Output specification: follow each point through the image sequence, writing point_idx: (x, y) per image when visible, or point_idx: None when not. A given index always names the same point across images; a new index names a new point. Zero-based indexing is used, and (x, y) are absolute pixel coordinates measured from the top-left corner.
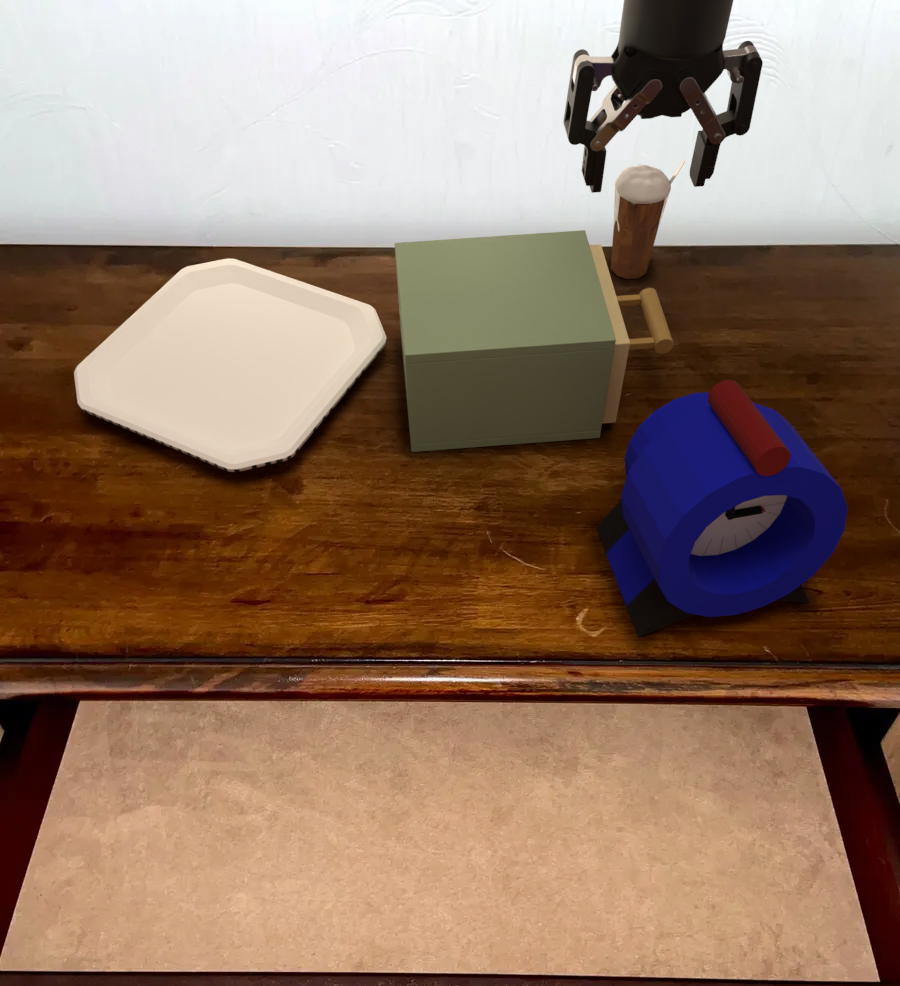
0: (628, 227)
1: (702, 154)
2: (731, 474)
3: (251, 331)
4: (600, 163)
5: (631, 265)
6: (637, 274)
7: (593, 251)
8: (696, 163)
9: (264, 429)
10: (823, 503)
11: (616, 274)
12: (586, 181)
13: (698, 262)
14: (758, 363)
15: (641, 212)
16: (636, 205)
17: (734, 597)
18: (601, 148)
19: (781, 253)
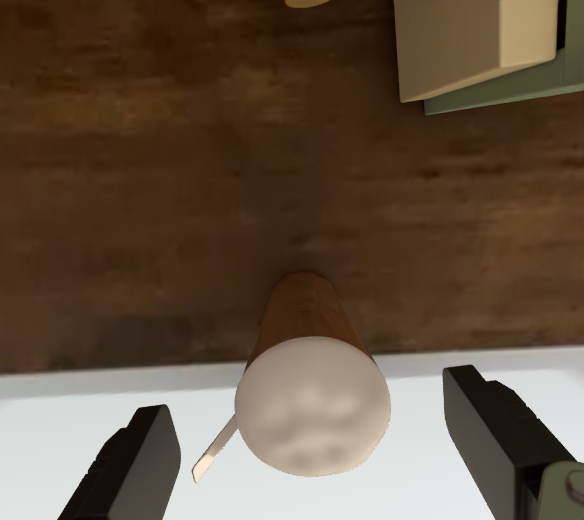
0: (334, 314)
1: (124, 485)
2: None
3: None
4: (506, 427)
5: (306, 279)
6: (290, 275)
7: (539, 12)
8: (155, 471)
9: None
10: None
11: (328, 281)
12: (505, 388)
13: (176, 323)
14: (55, 25)
15: (314, 324)
16: (332, 336)
17: None
18: (550, 473)
19: (29, 353)
